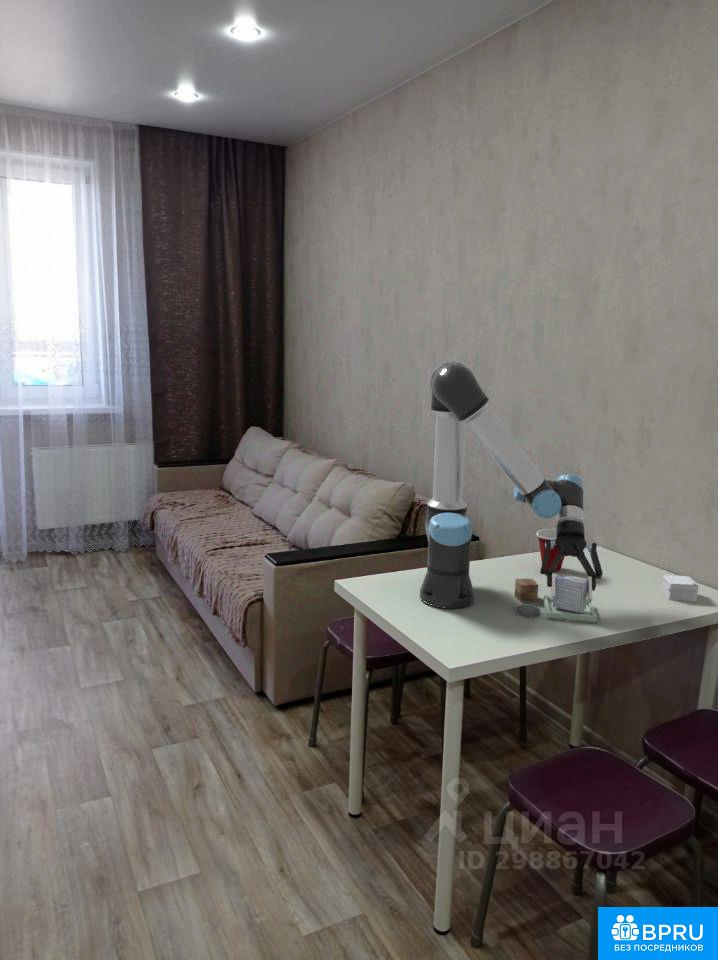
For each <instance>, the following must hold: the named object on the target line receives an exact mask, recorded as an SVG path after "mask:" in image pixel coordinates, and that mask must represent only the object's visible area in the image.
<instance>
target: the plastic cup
mask: <svg viewBox="0 0 718 960" xmlns="http://www.w3.org/2000/svg"><path fill="white" fill-rule="evenodd" d="M535 535H536V536H537V540H538V543H539V553H540V561H541V564H542V563H543V559H544V555H545V551H546V550H545V542H546V540H547V539H549V540H550V541H555V540H556V528H548V529H547V528H546V529H540V530H538V531H536V534H535ZM558 552H559V550H558V548H557V547H556V546H555V545H554V546H553V548H552V549H551V550H550V554H549V558H548V562H547V565H546V569H549V568H550V566H551V564H552V563H553V561H554V559H555V557H556V556H557V554H558ZM565 557H566V556H564V555H563V557H562V559H561V560H560V562H559V563H558V565H557V567H556V569H555V570H554V572H555V573H556V572H560V571H561V569H562V566H563V563H564V560H565ZM554 572H553V573H554Z"/></svg>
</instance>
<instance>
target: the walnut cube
mask: <svg viewBox="0 0 718 960" xmlns="http://www.w3.org/2000/svg"><path fill="white" fill-rule="evenodd" d="M514 584H515V585H514V597H515V598H516V599H517V600H518V602H519V603H522V602H523V603H526V602H529V603H530V602H531V603H533V602H535V603H537V602H538V597H539V595H538V594H539V583H538V582H536V580H534V579H533V578H515V583H514ZM525 601H526V602H525Z"/></svg>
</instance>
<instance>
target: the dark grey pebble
mask: <svg viewBox="0 0 718 960" xmlns="http://www.w3.org/2000/svg"><path fill="white" fill-rule="evenodd" d="M516 614H517V615H518V616H522V617H524V618H536V617H538V616H540V608H539V607H538V606H535V605H531V604H519V605H517V606H516Z"/></svg>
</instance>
